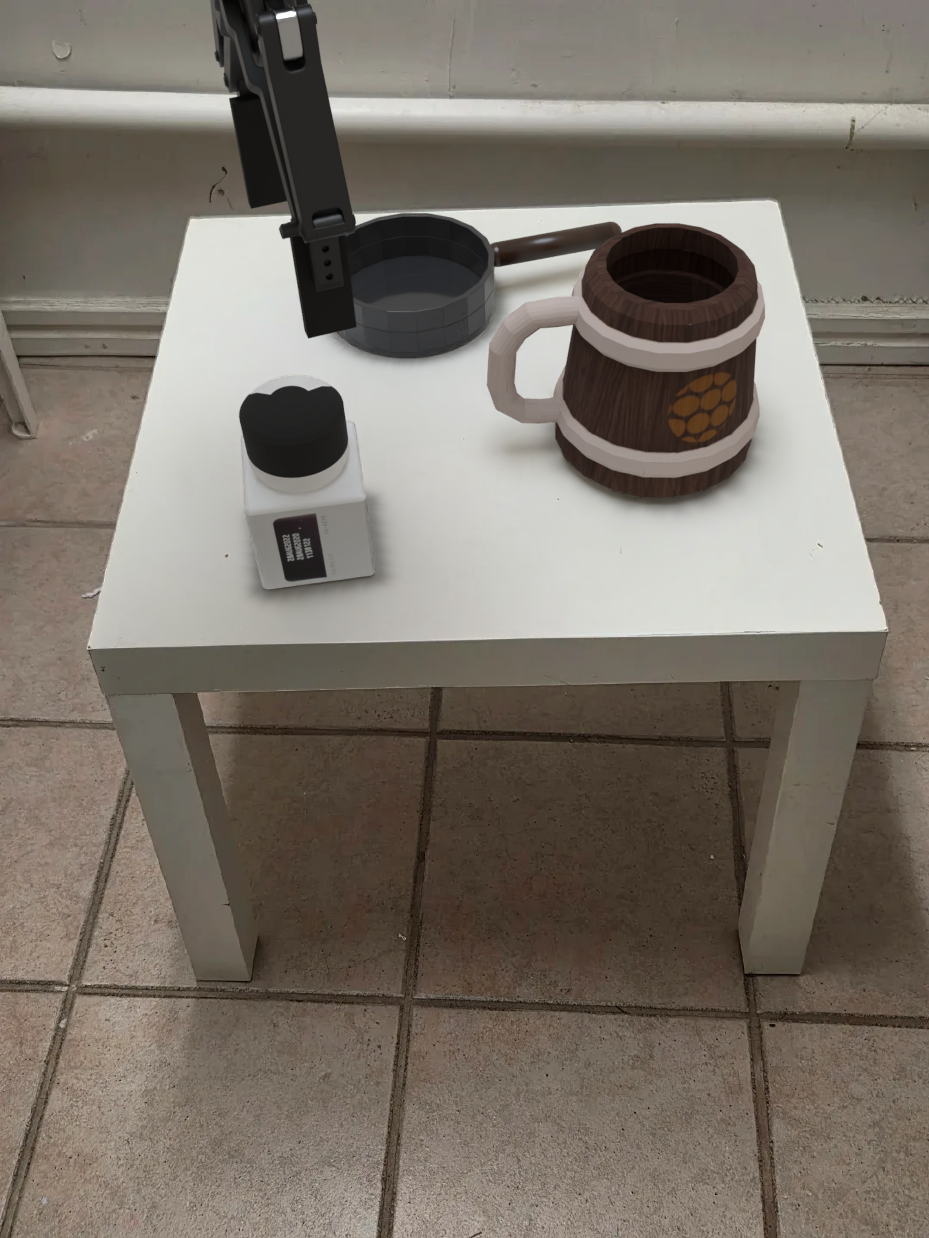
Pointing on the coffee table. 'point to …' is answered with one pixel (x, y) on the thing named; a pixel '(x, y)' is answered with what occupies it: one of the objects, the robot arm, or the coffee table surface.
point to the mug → (647, 362)
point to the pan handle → (553, 243)
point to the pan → (419, 284)
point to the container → (303, 484)
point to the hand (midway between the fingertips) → (299, 262)
